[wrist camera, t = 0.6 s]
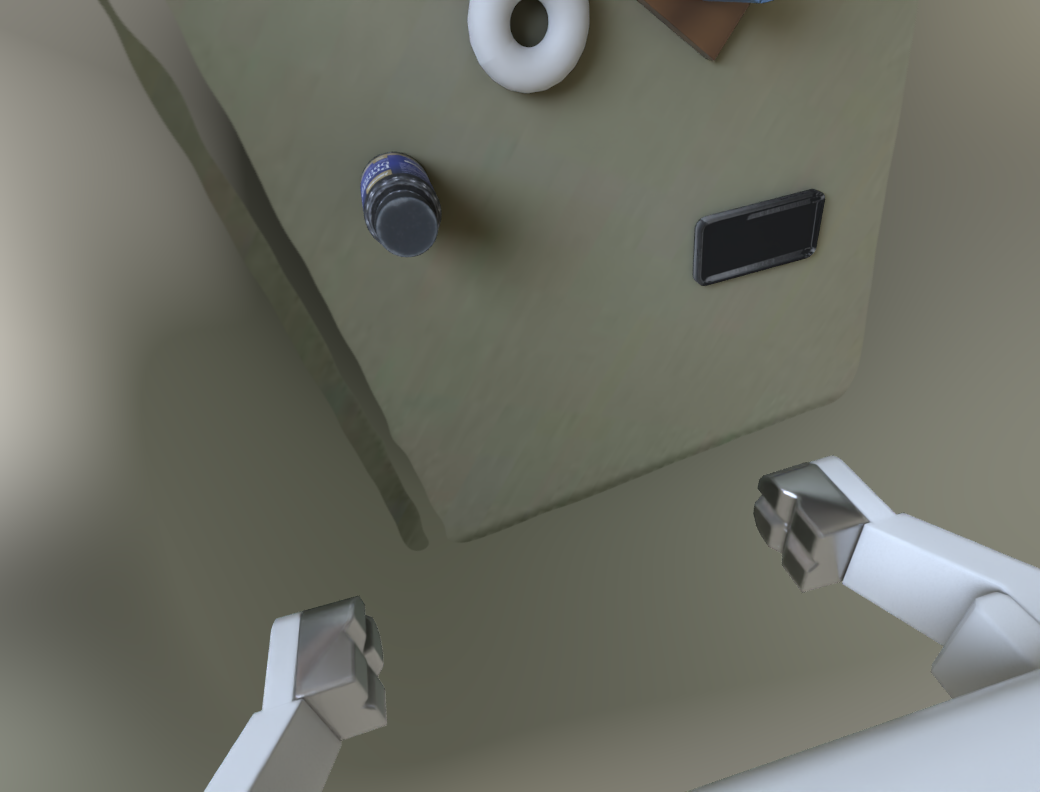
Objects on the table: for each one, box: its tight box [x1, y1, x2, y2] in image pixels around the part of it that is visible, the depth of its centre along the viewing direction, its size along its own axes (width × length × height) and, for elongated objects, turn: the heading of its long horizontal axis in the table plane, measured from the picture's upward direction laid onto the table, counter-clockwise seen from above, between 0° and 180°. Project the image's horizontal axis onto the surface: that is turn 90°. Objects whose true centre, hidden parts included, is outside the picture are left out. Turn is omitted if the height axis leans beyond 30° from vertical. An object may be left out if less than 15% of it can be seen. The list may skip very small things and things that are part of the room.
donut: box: [467, 0, 589, 93], centre depth 45 cm, size 10×4×10 cm
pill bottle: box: [360, 152, 441, 257], centre depth 47 cm, size 6×6×11 cm
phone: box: [693, 189, 825, 286], centre depth 64 cm, size 8×1×15 cm
